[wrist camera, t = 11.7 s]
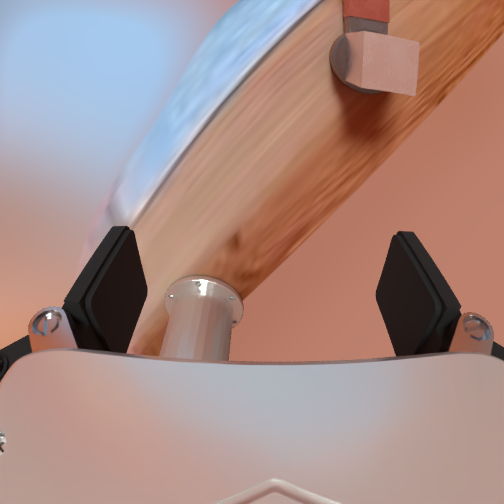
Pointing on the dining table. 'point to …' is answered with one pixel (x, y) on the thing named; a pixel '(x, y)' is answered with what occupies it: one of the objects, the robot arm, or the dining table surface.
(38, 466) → the robot arm
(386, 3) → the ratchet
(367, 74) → the brushed aluminum cube
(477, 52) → the dining table surface
